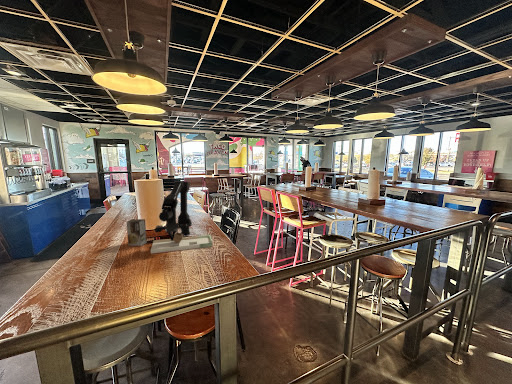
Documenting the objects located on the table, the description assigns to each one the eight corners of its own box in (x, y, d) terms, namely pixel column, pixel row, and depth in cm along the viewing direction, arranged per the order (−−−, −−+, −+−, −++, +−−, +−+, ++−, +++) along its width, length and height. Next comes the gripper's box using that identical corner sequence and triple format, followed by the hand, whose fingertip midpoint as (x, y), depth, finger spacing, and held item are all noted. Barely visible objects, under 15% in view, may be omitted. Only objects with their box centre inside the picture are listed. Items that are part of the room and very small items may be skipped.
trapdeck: (153, 245, 135) (153, 240, 134) (210, 239, 146) (210, 234, 146) (150, 253, 124) (150, 247, 123) (212, 246, 135) (212, 240, 134)
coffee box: (147, 242, 141) (145, 219, 139) (141, 246, 135) (139, 221, 132) (134, 241, 142) (132, 218, 140) (127, 245, 135) (125, 221, 133)
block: (173, 238, 137) (177, 231, 137) (180, 240, 138) (183, 234, 138) (172, 240, 132) (176, 234, 132) (179, 243, 134) (182, 237, 134)
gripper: (153, 221, 122) (154, 247, 124) (186, 219, 128) (187, 243, 130) (155, 216, 133) (156, 240, 135) (186, 215, 138) (187, 237, 140)
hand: (172, 240), depth 135 cm, fingers closed
